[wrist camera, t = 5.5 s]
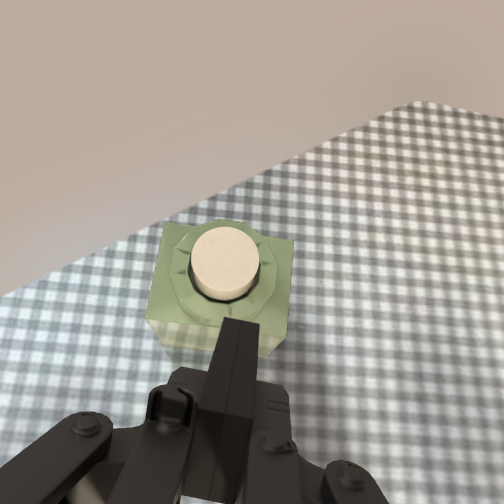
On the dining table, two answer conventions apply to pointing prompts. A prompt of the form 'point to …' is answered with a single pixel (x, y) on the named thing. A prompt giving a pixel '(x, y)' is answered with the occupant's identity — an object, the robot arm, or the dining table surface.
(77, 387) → the dining table surface
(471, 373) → the dining table surface
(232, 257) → the beige short cylinder
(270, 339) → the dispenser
